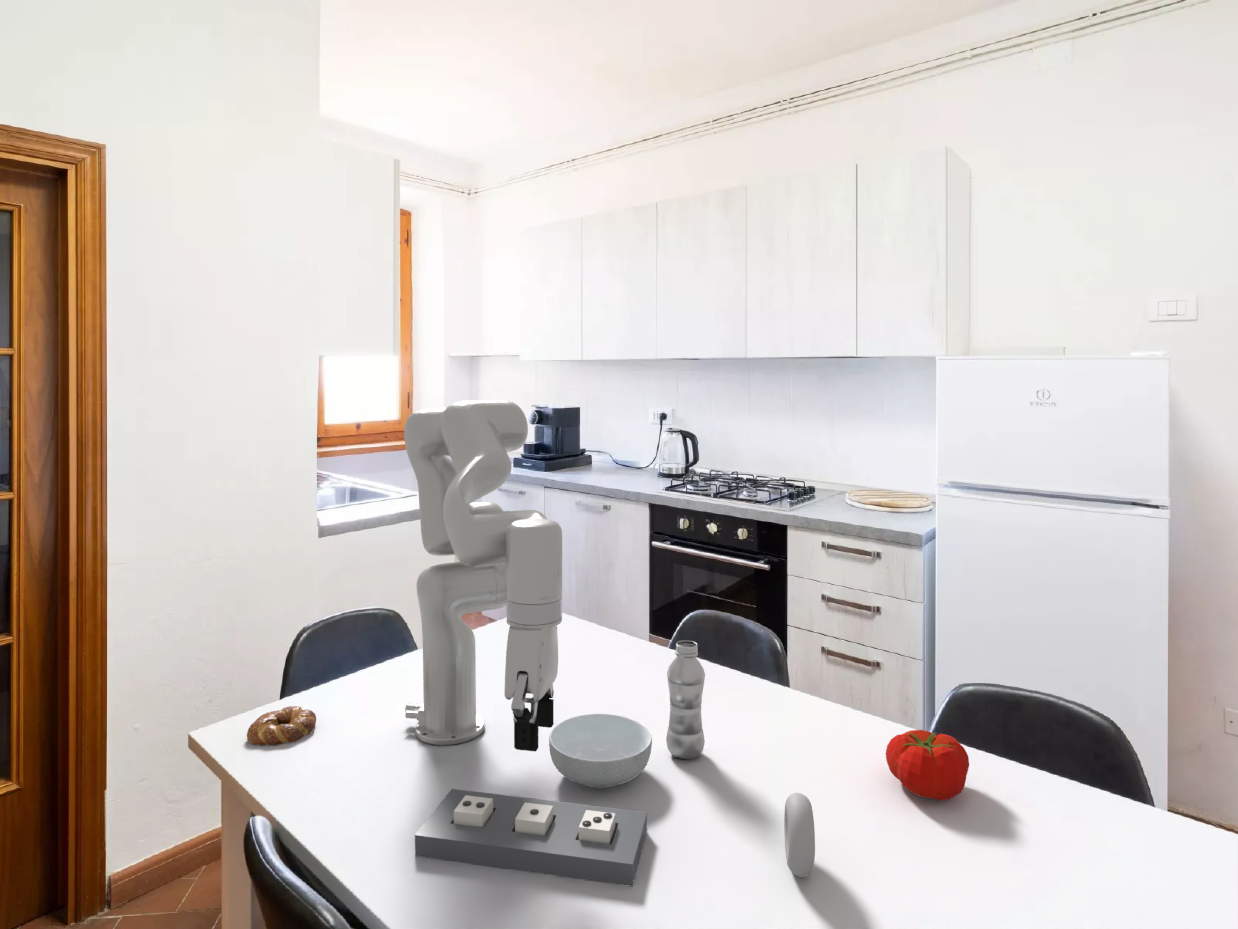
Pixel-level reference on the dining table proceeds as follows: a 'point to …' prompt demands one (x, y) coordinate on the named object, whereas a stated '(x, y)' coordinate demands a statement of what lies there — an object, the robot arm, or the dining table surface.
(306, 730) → the pretzel
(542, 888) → the dining table surface
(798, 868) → the donut
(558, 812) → the button panel
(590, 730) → the cereal bowl
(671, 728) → the plastic bottle
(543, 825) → the button one dot
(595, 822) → the button three dots
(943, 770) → the tomato
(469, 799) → the button two dots
